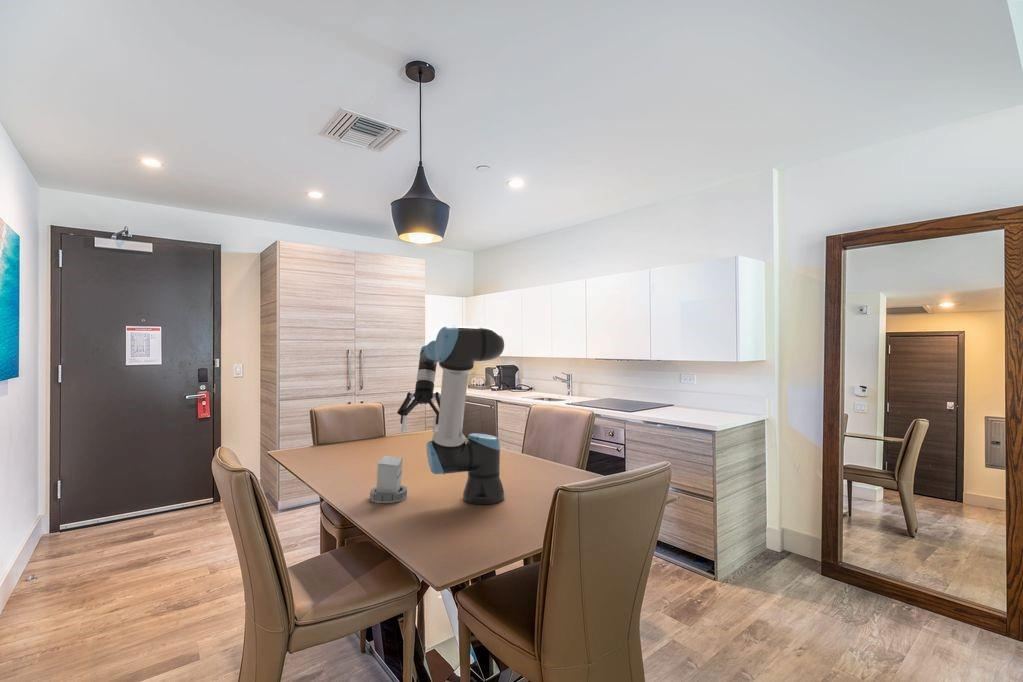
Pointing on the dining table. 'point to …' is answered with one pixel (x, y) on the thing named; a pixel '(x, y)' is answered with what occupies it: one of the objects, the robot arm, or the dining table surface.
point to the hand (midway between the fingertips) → (418, 432)
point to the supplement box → (389, 475)
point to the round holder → (388, 496)
